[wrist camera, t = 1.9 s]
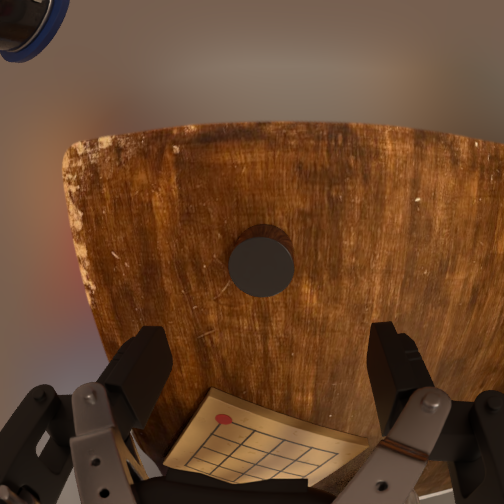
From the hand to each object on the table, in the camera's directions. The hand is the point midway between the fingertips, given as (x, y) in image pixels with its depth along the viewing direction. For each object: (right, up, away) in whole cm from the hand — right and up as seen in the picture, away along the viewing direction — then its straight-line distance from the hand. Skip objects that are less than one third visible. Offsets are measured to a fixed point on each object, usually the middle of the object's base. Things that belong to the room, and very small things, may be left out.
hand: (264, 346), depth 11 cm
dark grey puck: (+1, +4, +14) cm, 15 cm away
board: (0, -25, +26) cm, 36 cm away
